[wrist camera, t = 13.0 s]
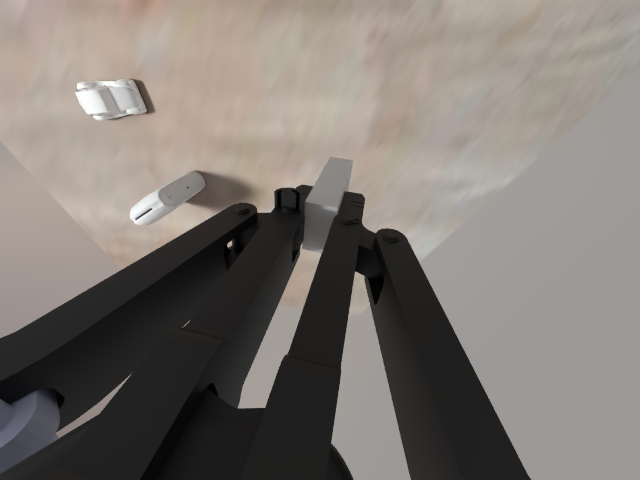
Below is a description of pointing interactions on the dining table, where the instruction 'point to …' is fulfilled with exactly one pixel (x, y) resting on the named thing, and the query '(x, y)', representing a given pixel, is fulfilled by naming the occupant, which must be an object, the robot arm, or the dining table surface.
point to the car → (110, 98)
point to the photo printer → (167, 198)
